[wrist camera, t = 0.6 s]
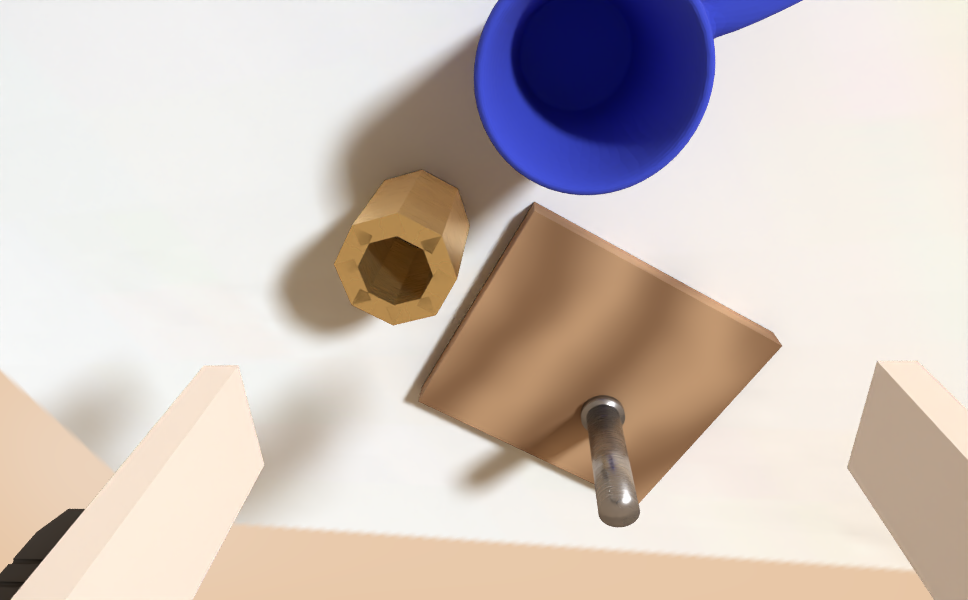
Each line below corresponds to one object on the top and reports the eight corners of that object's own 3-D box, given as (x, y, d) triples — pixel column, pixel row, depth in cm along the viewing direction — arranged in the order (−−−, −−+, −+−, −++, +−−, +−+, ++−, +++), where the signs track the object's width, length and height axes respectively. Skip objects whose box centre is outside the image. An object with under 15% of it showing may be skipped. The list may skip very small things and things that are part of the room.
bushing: (357, 235, 36) (321, 290, 29) (396, 155, 33) (365, 196, 27) (440, 277, 36) (421, 339, 30) (482, 202, 34) (472, 251, 28)
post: (572, 418, 38) (582, 518, 31) (595, 388, 37) (611, 484, 30) (608, 436, 39) (626, 538, 32) (632, 406, 38) (656, 506, 31)
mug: (762, 58, 30) (861, 90, 21) (530, 163, 33) (531, 230, 24) (712, -127, 27) (802, -181, 18) (460, 7, 30) (431, 18, 21)
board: (422, 387, 40) (418, 401, 39) (534, 201, 34) (534, 210, 33) (634, 488, 43) (637, 504, 41) (772, 332, 37) (782, 345, 35)
